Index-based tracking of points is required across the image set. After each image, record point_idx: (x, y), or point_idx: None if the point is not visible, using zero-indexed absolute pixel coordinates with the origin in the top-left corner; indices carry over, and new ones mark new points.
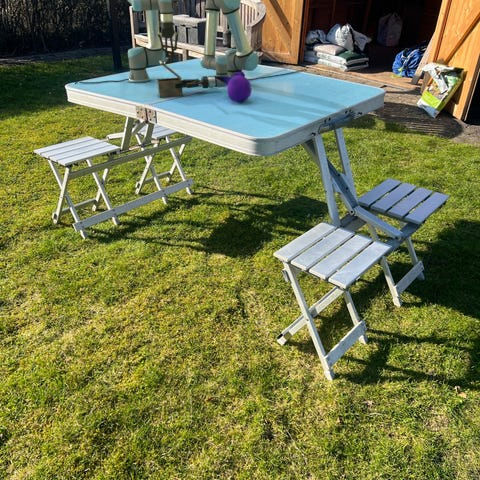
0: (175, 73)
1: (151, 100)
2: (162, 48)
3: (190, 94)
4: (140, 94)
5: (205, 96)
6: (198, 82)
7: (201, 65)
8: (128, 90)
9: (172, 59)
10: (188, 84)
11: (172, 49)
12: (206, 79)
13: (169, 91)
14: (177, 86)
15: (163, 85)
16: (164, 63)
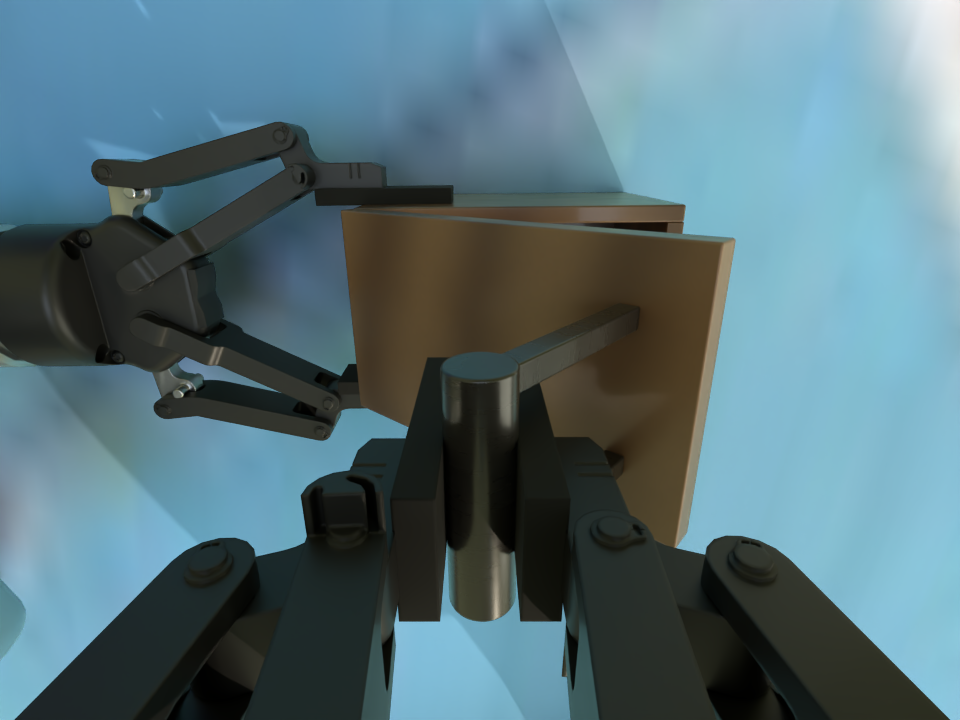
0: (422, 217)
1: (733, 102)
2: (828, 611)
3: (305, 248)
4: (760, 402)
5: (143, 92)
6: (141, 231)
7: (9, 611)
8: (809, 568)
9: (427, 385)
10: (274, 123)
11: (351, 565)
12: (9, 247)
13: (527, 196)
14: (427, 186)
15: (605, 200)
16: (630, 311)
